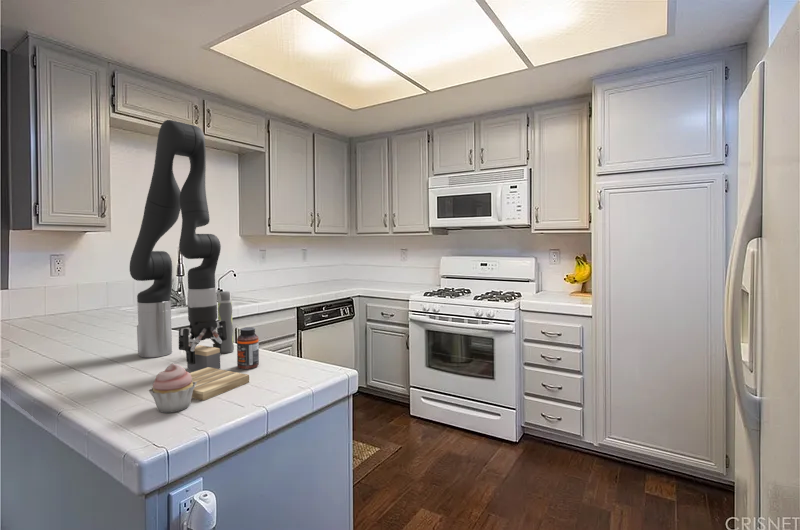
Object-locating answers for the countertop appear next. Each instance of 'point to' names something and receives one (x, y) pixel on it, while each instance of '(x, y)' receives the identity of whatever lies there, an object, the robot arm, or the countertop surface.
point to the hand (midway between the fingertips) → (204, 360)
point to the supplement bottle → (247, 349)
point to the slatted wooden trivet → (215, 382)
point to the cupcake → (172, 389)
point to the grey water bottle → (226, 319)
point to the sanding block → (205, 358)
